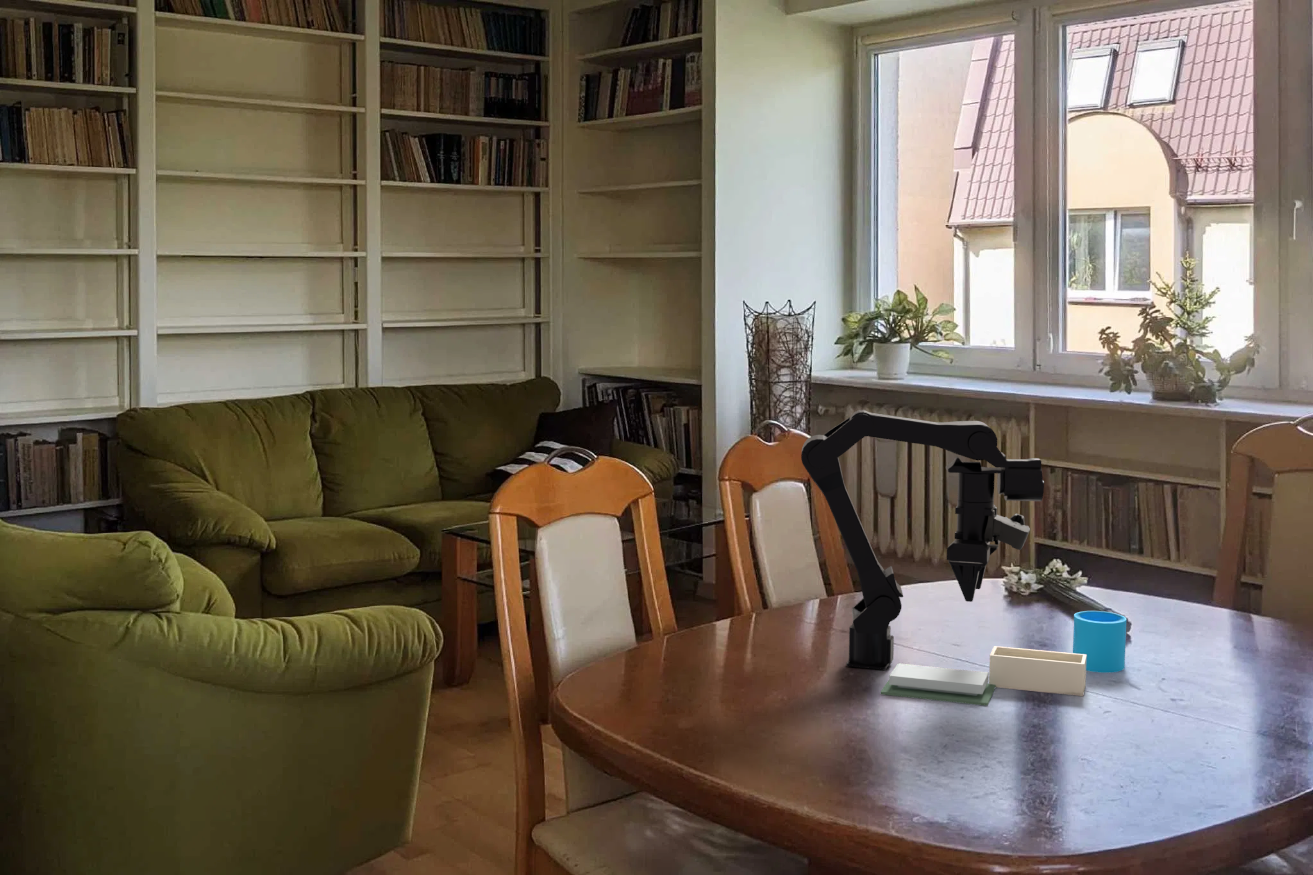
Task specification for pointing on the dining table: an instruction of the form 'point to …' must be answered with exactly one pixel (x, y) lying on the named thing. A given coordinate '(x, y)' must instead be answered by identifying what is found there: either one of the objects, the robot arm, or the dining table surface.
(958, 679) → the lid
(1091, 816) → the dining table surface
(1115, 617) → the mug
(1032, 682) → the pencil box
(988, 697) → the felt mat
